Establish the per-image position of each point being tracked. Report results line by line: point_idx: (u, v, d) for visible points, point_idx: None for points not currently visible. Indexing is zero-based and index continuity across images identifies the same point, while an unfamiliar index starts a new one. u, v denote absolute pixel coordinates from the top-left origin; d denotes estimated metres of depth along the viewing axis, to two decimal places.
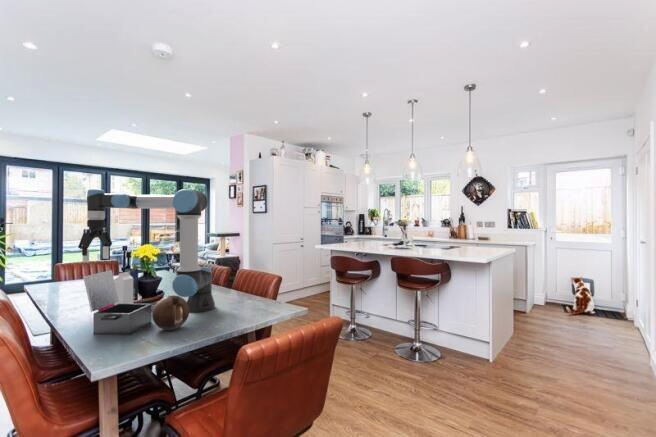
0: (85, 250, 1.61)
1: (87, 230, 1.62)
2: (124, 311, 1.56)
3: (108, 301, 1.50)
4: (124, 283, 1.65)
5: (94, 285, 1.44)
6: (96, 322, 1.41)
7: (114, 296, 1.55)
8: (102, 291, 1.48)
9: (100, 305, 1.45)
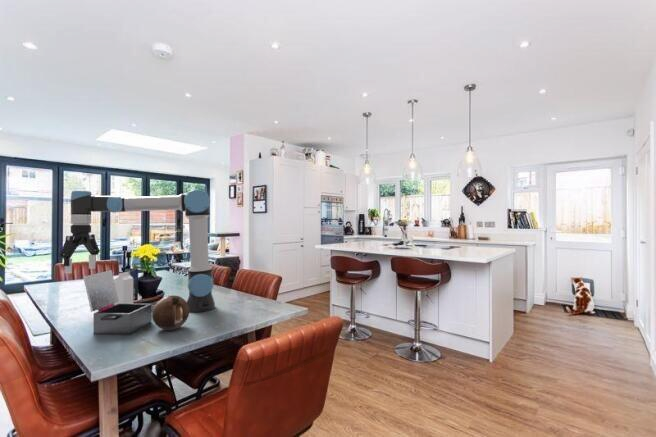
0: (67, 260, 1.41)
1: (70, 237, 1.42)
2: (124, 311, 1.56)
3: (108, 301, 1.50)
4: (124, 283, 1.65)
5: (94, 285, 1.44)
6: (96, 322, 1.41)
7: (114, 296, 1.55)
8: (102, 291, 1.48)
9: (100, 305, 1.45)
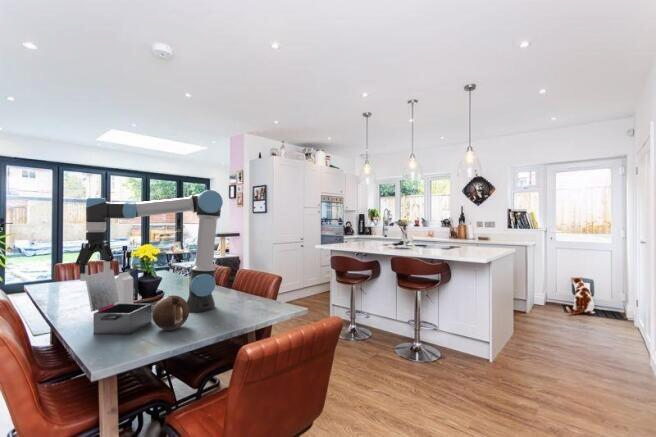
0: (83, 267, 1.41)
1: (86, 244, 1.42)
2: (124, 311, 1.56)
3: (108, 301, 1.50)
4: (124, 283, 1.65)
5: (95, 284, 1.44)
6: (96, 322, 1.41)
7: (114, 296, 1.55)
8: (103, 291, 1.48)
9: (100, 305, 1.45)
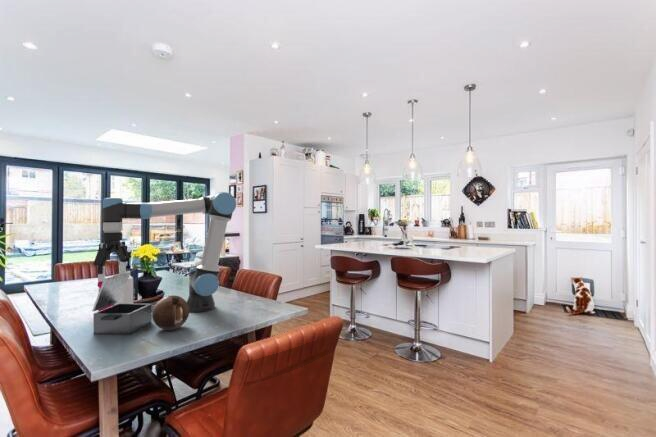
0: (101, 268, 1.41)
1: (103, 245, 1.42)
2: (124, 311, 1.56)
3: (111, 301, 1.50)
4: None
5: (108, 286, 1.44)
6: (96, 322, 1.41)
7: (118, 296, 1.55)
8: (112, 292, 1.48)
9: (102, 305, 1.45)
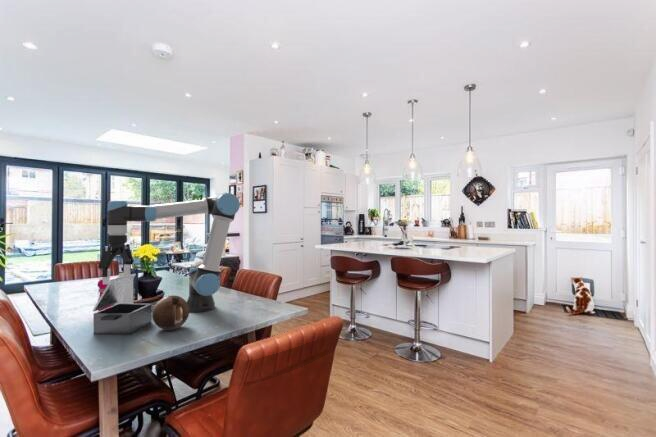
0: (106, 271, 1.40)
1: (108, 247, 1.42)
2: (124, 311, 1.56)
3: (112, 302, 1.50)
4: None
5: (112, 288, 1.44)
6: (96, 322, 1.41)
7: (120, 297, 1.55)
8: (114, 293, 1.48)
9: (103, 306, 1.45)
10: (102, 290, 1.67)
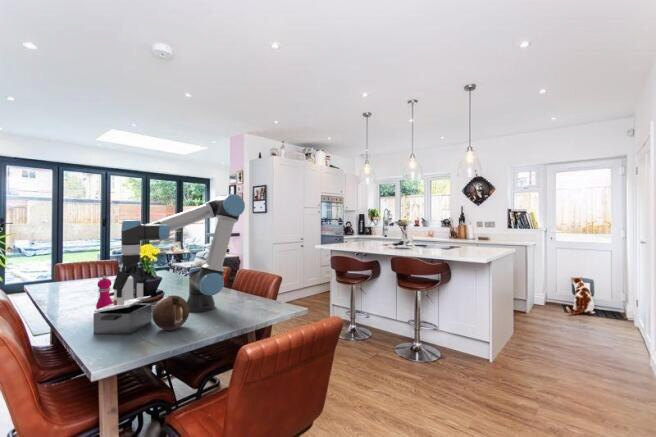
0: (120, 291, 1.40)
1: (122, 268, 1.41)
2: (124, 311, 1.56)
3: (114, 305, 1.50)
4: None
5: None
6: (96, 322, 1.41)
7: None
8: None
9: None
10: (102, 290, 1.67)
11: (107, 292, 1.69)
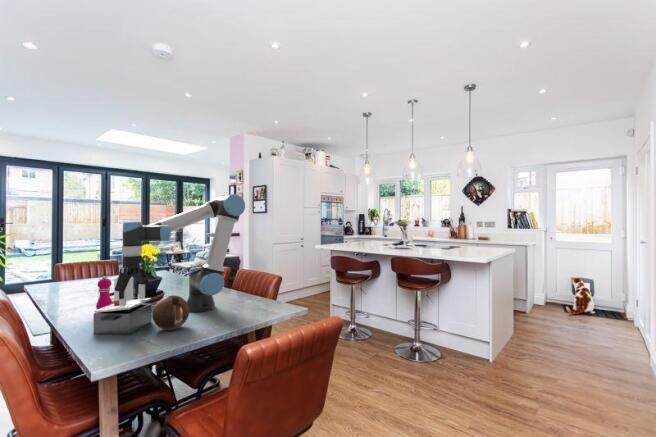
0: (122, 293, 1.40)
1: (124, 269, 1.41)
2: (124, 311, 1.56)
3: None
4: None
5: None
6: (96, 322, 1.41)
7: None
8: None
9: None
10: (102, 290, 1.67)
11: (107, 292, 1.69)
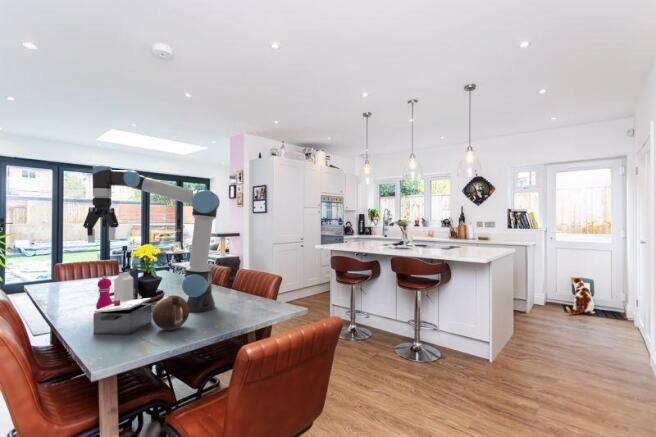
0: (90, 229, 1.50)
1: (93, 208, 1.51)
2: (124, 311, 1.56)
3: None
4: (124, 283, 1.65)
5: None
6: (96, 322, 1.41)
7: None
8: None
9: None
10: (102, 290, 1.67)
11: (107, 292, 1.69)
